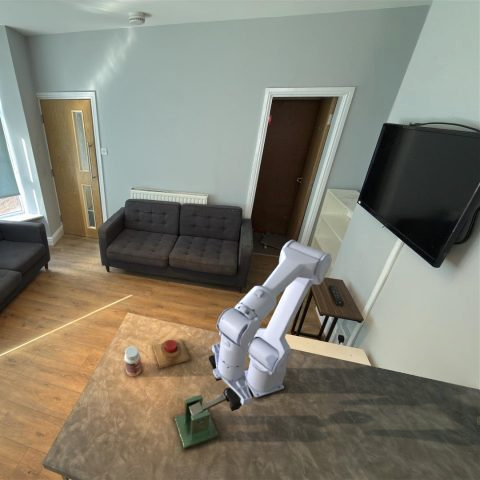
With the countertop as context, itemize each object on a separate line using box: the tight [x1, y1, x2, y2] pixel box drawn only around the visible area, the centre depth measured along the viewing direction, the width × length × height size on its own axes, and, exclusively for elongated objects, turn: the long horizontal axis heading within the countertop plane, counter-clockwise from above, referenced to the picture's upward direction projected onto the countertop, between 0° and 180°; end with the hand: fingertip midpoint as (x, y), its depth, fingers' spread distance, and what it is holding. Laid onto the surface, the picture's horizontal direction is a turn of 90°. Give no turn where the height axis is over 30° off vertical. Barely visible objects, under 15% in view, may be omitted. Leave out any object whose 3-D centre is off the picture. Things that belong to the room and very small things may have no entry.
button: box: [165, 339, 176, 353], centre depth 85 cm, size 4×4×2 cm
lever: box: [189, 386, 234, 416], centre depth 64 cm, size 12×3×3 cm, turn 106°
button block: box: [152, 338, 191, 369], centre depth 86 cm, size 10×8×3 cm
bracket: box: [174, 394, 219, 450], centre depth 65 cm, size 9×7×9 cm
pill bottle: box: [124, 345, 142, 377], centre depth 80 cm, size 5×5×8 cm
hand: (226, 393), depth 64 cm, fingers open, 7 cm apart
